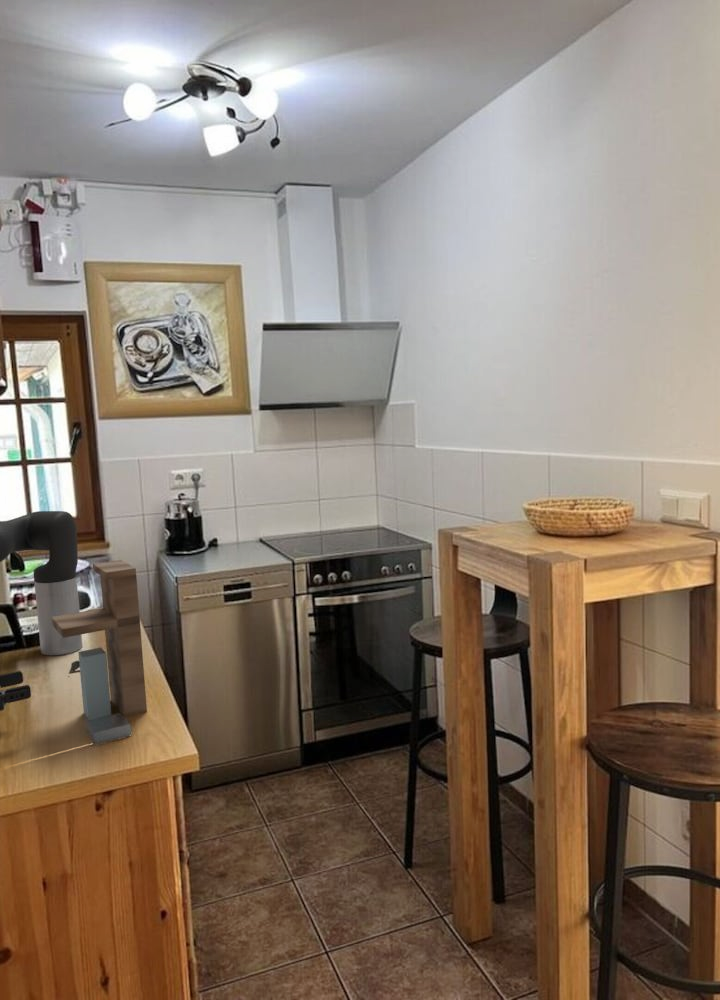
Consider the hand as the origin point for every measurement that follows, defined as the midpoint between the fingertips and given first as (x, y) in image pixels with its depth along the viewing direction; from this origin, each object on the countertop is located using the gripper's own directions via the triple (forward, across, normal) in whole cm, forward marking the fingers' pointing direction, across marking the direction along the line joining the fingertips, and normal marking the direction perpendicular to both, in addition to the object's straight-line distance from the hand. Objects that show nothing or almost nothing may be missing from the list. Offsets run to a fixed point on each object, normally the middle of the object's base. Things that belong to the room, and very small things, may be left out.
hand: (26, 683), depth 129 cm
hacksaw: (+14, +20, +10) cm, 26 cm away
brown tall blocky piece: (+12, 0, +9) cm, 15 cm away
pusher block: (+11, 0, +9) cm, 14 cm away
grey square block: (+11, -10, +9) cm, 17 cm away
